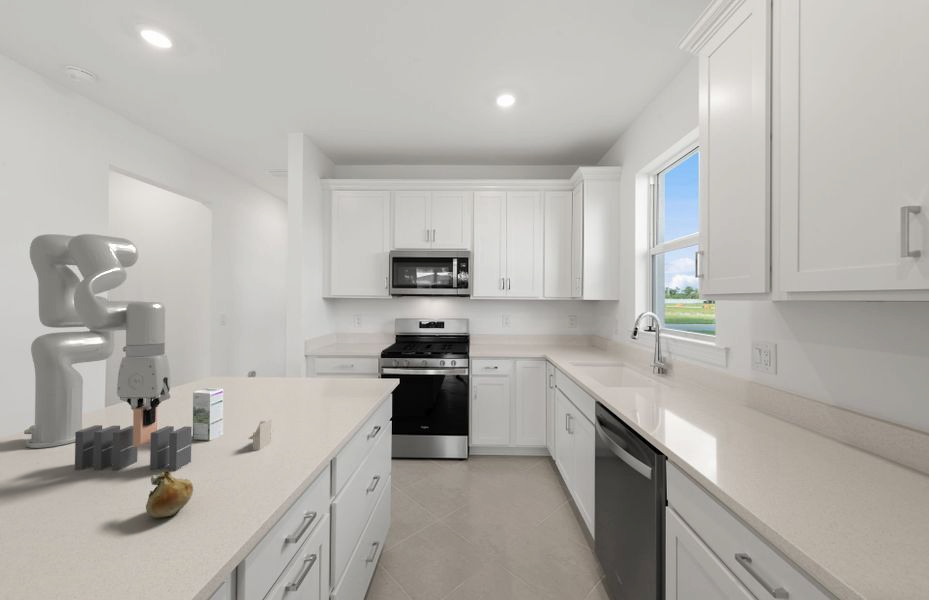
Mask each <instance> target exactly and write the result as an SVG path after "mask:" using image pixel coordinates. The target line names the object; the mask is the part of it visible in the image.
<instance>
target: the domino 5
mask: <svg viewBox="0 0 929 600" xmlns="http://www.w3.org/2000/svg"><path fill="white" fill-rule="evenodd" d="M173 431H175V426H173V425H170V426H169V425H167V426H164V427H161V428H159V429H157V431H154V432H152V433H151V442H150V452H149V453H150V455H149V457H150V458H149V471H150V470H158V469H160V468H161V469H163V468H165V467H167V466H169V465H168V464H169V433H171V432H173ZM166 465H167V466H166ZM164 466H165V467H164ZM162 467H163V468H162ZM161 469H160V470H161ZM158 471H159V470H158Z"/></svg>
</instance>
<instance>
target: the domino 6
mask: <svg viewBox="0 0 929 600" xmlns="http://www.w3.org/2000/svg"><path fill="white" fill-rule="evenodd" d="M192 429H193V426H183V427H181V428H178V429H175V430H174V431H173V432H171V433H169V465H168V471H169V470H177V469H179V468H180V469H182V468H183V467H182V466H184V465H185V466H187V465H189V464H190V463H189V462H191V463H192ZM188 463H189V464H188ZM186 464H187V465H186ZM185 466H184V467H185ZM181 467H182V468H181ZM180 469H179V470H180ZM177 471H178V470H177Z"/></svg>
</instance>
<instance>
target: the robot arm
mask: <svg viewBox="0 0 929 600" xmlns="http://www.w3.org/2000/svg"><path fill="white" fill-rule="evenodd" d="M29 258H30V263H31V265H32V268H33V270H34V272H35V275H36V277H37V281H38V282H37V284H38V291H37V293H38V294H37V295H38V317H39V321H40V323H41V324H42V325H43V326H44V327H47V328H52V329H53V328H55V329H57V328H63V329H64V328H65V329H66V328H83V327H86V328H87V329H89V330H87V331H86V330H85V331H83V330H82V331H64V332H51V333H50V332H49V333H45V334H42V335H39V336H37V337H36V338H35V339H34V340H33V341H32V343H31V346H30V352H31V358H32V362H33V366H34V374H35V378H34V379H35V380H34V381H35V382H34V383H35V384H34V385H35V387H34V388H35V391H34V392H35V393H34V395H35V396H34V399H35V400H34V402H35V403H34V408H35V409H34V425H31V426H29V428H28V429H25V430H24V431H23V433H24V435H31V436H30V437H31V438H29V439H28V440H26V442H25V446H26V447H27V448H29V449H43V448H52V447H58V446H59V447H60V446H64V445H68V444H72V443H75V432H77V431H80V430H83V429H84V428H83V395H84V394H83V393H84V392H83V388H84V385H83V384H84V381H83V376H82V374H81V373H80V372H79V371H78V370H76V368H74V366H73V365H76V364H82V363H83V364H84V363H90V362H91V363H92V362H100V361H105V360H107V359H109V358H111V357H112V355H113V353H114V349H115V331H116V332H117V331H125V346H123V348H122V352H124V353H125V356H124V357H121V358H122V359H121V362H120V365H119V369H118V372H117V373H118V375H117V383H116V395H117V396H118V397H119V400H120V401H122V402H126V403H127V404H128V405H129V406H130V409H131V410H132V411H133V409H136V408H139V407H142V406H145V409H146V410H143V426H148V425H150V424H153V423H155V419H156V407H157V408H158V407H159V406H160V404H161V403H162V402H164V401H167V400H170V398H171V395H170V390H171V389H170V388H171V373H170V372H171V371H170V365H169V361H168V356H167V355H165V354H166V353H165V349H166V347H165V345H166V343H165V342H166V341H165V340H166V338H165V337H166V336H165V334H166V307H165V305H164V304H163V303H161V302H157V301H156V302H153V301H140V300H139V301H138V300H137V301H135V300H134V301H133V300H130V301H129V300H109V299H107V298H106V297H104V296H99V294H102V293H105V292H107V291H110V290H114V289H116V288H118V287H120V286H121V285H122V284H124V283H125V281H126V280H127V278H128V277H127V271H126V269H125V268H130V267H133V266H134V265H135V264H136V263H137V261H138V259H139V251H138V248H137V245H135V244H134V243H133V241H131V240H129V239H126V238H124V237H123V238H122V237H115V236H110V235H109V236H107V235H100V234H92V233H91V234H90V233H88V234H87V233H84V234H79V235H74V236H73V235H66V234H57V233H56V234H50V233H49V234H41V235H38V236H35V238H33V239H32V241H31V243H30V246H29ZM69 266H76V267H77V269H78V271H79V272H80V275H81V276H82V278H83V279H82V281H81V280H80V278H79V276H78V275H77V273H75V272H74V271H73V270H72V269H71V268H70V267H69ZM97 295H98V296H97Z"/></svg>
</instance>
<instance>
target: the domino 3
mask: <svg viewBox="0 0 929 600" xmlns="http://www.w3.org/2000/svg"><path fill="white" fill-rule="evenodd" d="M138 448H139V447H133V425H130V426H127V427H124V428H120V430H118V431H116V432H113V462H112V465H111V466H112V468H111V469H112V471H121V470H122V469H125V468H127V467H129V466H131V465H133V464H135V463H137V462H138V452H139V451H138Z"/></svg>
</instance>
